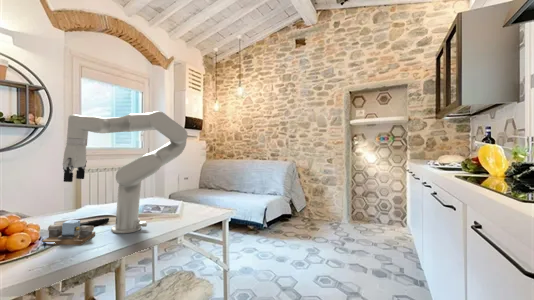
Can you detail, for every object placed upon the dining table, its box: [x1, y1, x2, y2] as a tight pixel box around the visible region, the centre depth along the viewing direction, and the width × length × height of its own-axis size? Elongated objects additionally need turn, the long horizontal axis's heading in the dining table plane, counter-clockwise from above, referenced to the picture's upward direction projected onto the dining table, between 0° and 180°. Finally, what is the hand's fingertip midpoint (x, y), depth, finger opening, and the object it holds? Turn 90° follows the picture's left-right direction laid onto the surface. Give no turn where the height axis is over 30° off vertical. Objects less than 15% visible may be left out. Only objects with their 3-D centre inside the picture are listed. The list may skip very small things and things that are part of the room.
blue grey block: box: [62, 219, 81, 238], centre depth 106 cm, size 6×4×6 cm
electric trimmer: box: [80, 217, 110, 227], centre depth 124 cm, size 4×16×3 cm, turn 147°
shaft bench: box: [41, 224, 96, 246], centre depth 106 cm, size 16×11×6 cm
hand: (74, 180), depth 115 cm, fingers open, 9 cm apart
